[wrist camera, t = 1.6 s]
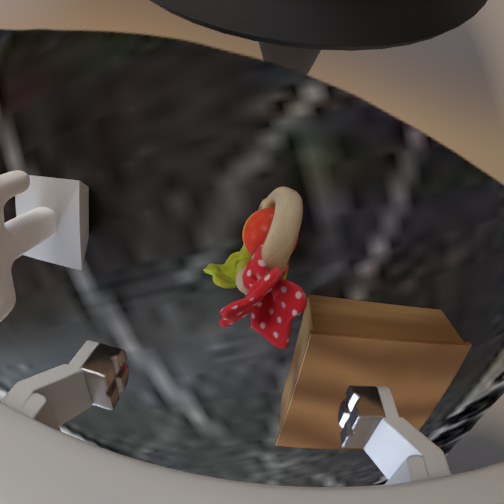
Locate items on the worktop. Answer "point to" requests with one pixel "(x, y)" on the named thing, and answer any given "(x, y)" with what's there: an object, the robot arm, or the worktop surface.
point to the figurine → (41, 225)
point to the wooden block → (365, 364)
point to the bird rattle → (265, 269)
